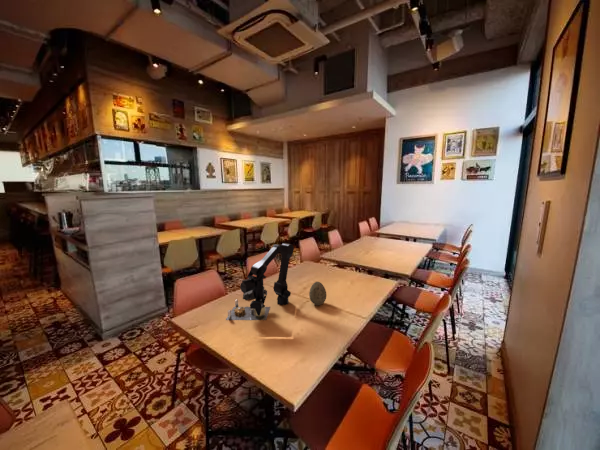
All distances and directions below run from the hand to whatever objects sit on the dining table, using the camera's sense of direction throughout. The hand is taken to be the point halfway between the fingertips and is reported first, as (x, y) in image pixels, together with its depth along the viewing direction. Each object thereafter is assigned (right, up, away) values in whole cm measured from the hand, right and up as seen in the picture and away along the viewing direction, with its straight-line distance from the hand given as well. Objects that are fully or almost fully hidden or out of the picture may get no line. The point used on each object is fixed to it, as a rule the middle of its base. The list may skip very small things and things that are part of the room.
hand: (259, 312), depth 139 cm
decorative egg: (+35, 0, +13) cm, 37 cm away
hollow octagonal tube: (0, 0, 0) cm, 0 cm away
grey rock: (-10, +1, +25) cm, 27 cm away
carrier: (-7, -2, +3) cm, 8 cm away
